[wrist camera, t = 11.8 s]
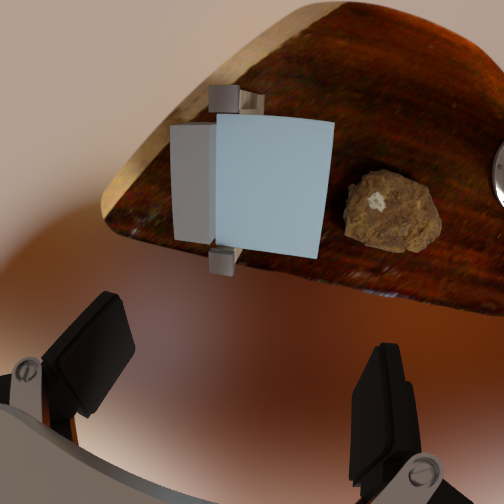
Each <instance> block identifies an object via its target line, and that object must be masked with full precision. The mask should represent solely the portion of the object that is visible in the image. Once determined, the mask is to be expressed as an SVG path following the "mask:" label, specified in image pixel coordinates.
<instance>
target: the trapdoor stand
mask: <svg viewBox="0 0 504 504" xmlns="http://www.w3.org/2000/svg"><path fill="white" fill-rule="evenodd" d="M264 99H265V95H259V94H255V93H252V92H248V91H244V90H240V86H239V85H209V112H233V113H238V112H239V109H240V112H239V114H249V115H264ZM242 249H243V248H237V247H230V246H223V245H218V246H217V248H211V250H210V251H209V271H210V273H215V274H221V275H227V276H232V275H233V273H234V270H235V269H234V266H235V262H236V260H237V258H238V257H239V255H240V253H241V251H242Z"/></svg>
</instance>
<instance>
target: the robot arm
mask: <svg viewBox="0 0 504 504" xmlns="http://www.w3.org/2000/svg"><path fill="white" fill-rule="evenodd" d="M492 183H493V189H494V192H495V195H496V198H497V200H498V202H499V203H500V204H501V206H502V207H503V208H504V142H503V143H502V144H501V145H500V147H499V149H498V150H497V153H496V155H495V158H494V162H493V168H492ZM134 353H135V344H134V341H133V338H132V334H131V331H130V327H129V324H128V321H127V317H126V313H125V310H124V306H123V302H122V300H121V299H120V297H119V295H118V294H115V293H111V292H107V291H104V292H102V293H101V294H100V295H99V296H98V297H97V298H96V299H95V300H94V301H93V302H92V303H91V304H90V305H89V306H88V307H87V308H86V309H85V310H84V311H83V312H82V314H81V315H80V316H79V317H78V318H77V319H76V320H75V321H74V322H73V323H72V324H71V325H70V326H69V327H68V328H67V330H65V332H64V333H63V334H62V335H61V336H60V337H59V338H58V339H57V340H56V342H55V343H54V344H53V345H52V346H51V347H50V348H49V349H48V351H47V352H46V353H45V354H44V355H43V356H42V357H41V358H42V360H43V362H42V363H40V361H39V360H38V359H36V358H34V357H26V358H23V359H21V360H20V361H19V362H18V363H17V364H16V365H15V366H14V368H13V371H12V373H11V374H7V375H2V376H0V504H217V503H213V502H210V501H206V500H203V499H199V498H196V497H192V496H189V495H186V494H183V493H180V492H177V491H174V490H171V489H168V488H166V487H163V486H161V485H158V484H155V483H153V482H150V481H148V480H145V479H143V478H141V477H138V476H136V475H134V474H131V473H129V472H127V471H125V470H123V469H121V468H119V467H117V466H114V465H113V464H110V463H109V462H107V461H105V460H103V459H101V458H99V457H97V456H95V455H93V454H92V453H90V452H88V451H86V450H85V449H83V448H81V447H79V445H78V438H77V432H76V425H75V418H74V415H75V414H76V412H78V413H79V414H80V415H82V416H84V417H86V418H89V416H90V415H91V414H93V413H95V412H96V410H97V409H98V407H99V406H100V404H101V403H102V401H103V400H104V398H105V397H106V395H107V394H108V392H109V391H110V389H111V387H112V386H113V384H114V383H115V381H116V380H117V378H118V377H119V375H120V374H121V372H122V371H123V369H124V368H125V367H126V365H127V363H128V362H129V361H130V359H131V358H132V356H133V354H134ZM351 415H352V416H351V447H350V465H349V480H350V481H351V480H352V481H353V487H361V492H360V496H361V498H360V499H359V500H358V501H357V502H356V503H355V504H474V503H473V502H472V501H470V500H469V499H468V498H467V497H465V496H464V495H463V494H461V493H460V492H459V491H458V490H456V489H455V488H454V487H452V486H451V485H450V484H449V483H448V482H446V481H445V480H444V479H443V473H444V470H443V465H442V463H441V461H440V460H439V459H438V458H437V457H436V456H435V455H432V454H430V453H421V442H420V433H419V424H418V417H417V410H416V403H415V397H414V392H413V386H412V384H411V382H409V381H405V376H404V370H403V365H402V360H401V355H400V350H399V346H398V345H397V344H393V343H381V344H380V346H376V347H375V348H374V350H373V352H372V354H371V357H370V359H369V361H368V363H367V365H366V367H365V369H364V371H363V373H362V375H361V377H360V379H359V381H358V383H357V385H356V387H355V389H354V391H353V394H352V414H351Z"/></svg>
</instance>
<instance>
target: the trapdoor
mask: <svg viewBox="0 0 504 504" xmlns="http://www.w3.org/2000/svg"><path fill="white" fill-rule="evenodd" d="M334 124H335V123H334V122H327V121H320V120H311V119H302V118H292V117H281V116H267V115H249V114H217V122H188V123H182V124H176V125H170V162H171V189H172V208H173V223H174V237H175V240H182V241H189V242H196V243H204V244H210V243H211V242H212V241H213V239H214V238H215V237H216V245H223V246H230V247H237V248H244V249H251V250H258V251H265V252H273V253H280V254H287V255H294V256H301V257H308V258H315V259H317V254H318V248H319V242H320V235H321V229H322V223H323V216H324V209H325V202H326V195H327V187H328V179H329V171H330V163H331V154H332V144H333V134H334Z"/></svg>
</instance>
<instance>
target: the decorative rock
mask: <svg viewBox="0 0 504 504" xmlns="http://www.w3.org/2000/svg"><path fill="white" fill-rule="evenodd" d="M348 190H349V199H346V202H347V204H346V208H345V210H344V214H343V218H344V220H345V224H346V229H345V233H344V235H346V236H348V237H351V238H353V239H355V240H358V241H360V242H362V243H363V244H365V245H366V246H370V247H375V248H379V249H383V250H386V251H391V252H393V253H394V252H398V253H400V252H404V251H405V250H409V251H413V252H416V253H419V252H420V251H421V250H422V249H423V250H424V249H425V247H426V246H427V244H430V242H433V241H434V240H435V239H436V238H437V237H438V236H439V235H440V232H441V227H442V224H441V219H440V218H439V214H438V212H437V209H436V207H435V205H434V203H433V202H432V198H431V196H430V194H429V190H428V187H427V186H424V185H422V184H419V183H417V182H416V181H413V180H410V179H408V178H404V177H403V176H402V175H400V174H399V173H394V172H391V171H388V170H386V169H383V170H380V171H375V172H373V171H370V172H369V174H366V175H364V176H362V180H361V181H360V182H359V184H358V185H355V184H351V185H350V186H349V187H348Z"/></svg>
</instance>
